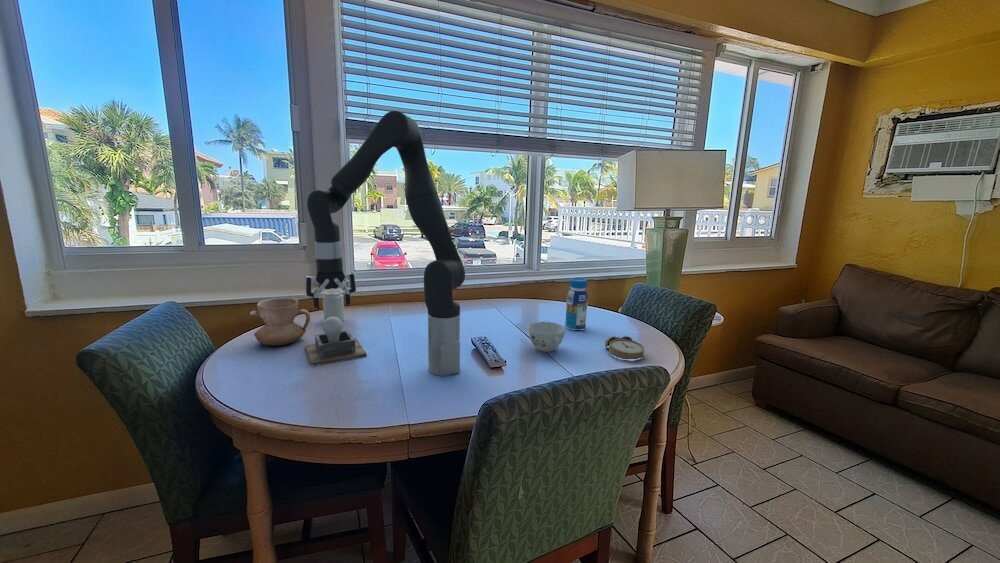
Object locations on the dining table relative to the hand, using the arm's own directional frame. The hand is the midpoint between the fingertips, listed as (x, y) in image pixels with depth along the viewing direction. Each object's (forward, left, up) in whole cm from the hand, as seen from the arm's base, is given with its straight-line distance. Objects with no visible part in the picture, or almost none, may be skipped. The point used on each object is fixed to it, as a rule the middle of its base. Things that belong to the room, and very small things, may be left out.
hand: (332, 307), depth 126 cm
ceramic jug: (+18, +14, -16) cm, 28 cm away
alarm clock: (-43, -85, -16) cm, 97 cm away
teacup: (-30, -63, -16) cm, 71 cm away
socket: (0, 0, -15) cm, 15 cm away
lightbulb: (0, 0, -14) cm, 14 cm away
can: (+34, -5, -15) cm, 38 cm away
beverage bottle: (-16, -88, -15) cm, 91 cm away
